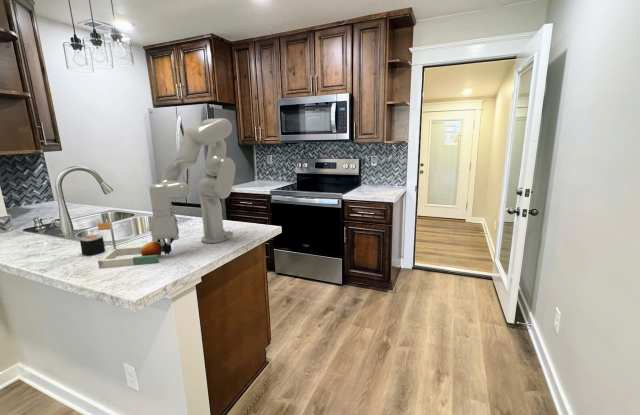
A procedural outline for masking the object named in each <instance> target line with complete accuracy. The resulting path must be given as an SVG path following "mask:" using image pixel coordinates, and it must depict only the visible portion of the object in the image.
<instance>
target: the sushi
mask: <svg viewBox="0 0 640 415" xmlns="http://www.w3.org/2000/svg"><path fill="white" fill-rule="evenodd" d="M79 243H80V248H81V255H83V256H86V257H91V256H97V255H99V254H100V255H101V254H103V253H105V251H106V247H105V246H106V245H105V240H104V236H103V235H102V234H88V235H86V236H83V237H80V240H79Z"/></svg>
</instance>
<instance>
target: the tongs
mask: <svg viewBox="0 0 640 415" xmlns="http://www.w3.org/2000/svg"><path fill="white" fill-rule="evenodd" d="M97 229H98V231H105V230H106V231H107V230H109V231H110V233H111V240H112V245H113V248H112V249H111V250H110V251H109V252H107V253H106V254H105V255H104V256H102V257H101V258H100V259H99V260H98V261H97V263H98V268H99V269H106V268H115V267H116V268H117V267H128V266H129V267H130V266H139V265H147V264H149V265H151V264H158V263H159V256H158V255H150V256H142V254H141V249H142V248H143V246H144V245H139V246H128V247H117V246H116V240H115V234H114V229H113V223H112V222H102V223H101V222H100V223H97ZM161 246H162V245H161ZM162 252H163V246H162ZM162 252H161V253H162ZM127 255H140V256H129V257H118V256H127ZM116 257H117V258H116Z"/></svg>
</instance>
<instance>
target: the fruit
mask: <svg viewBox="0 0 640 415" xmlns="http://www.w3.org/2000/svg"><path fill="white" fill-rule="evenodd" d="M142 246H143V248H142V249H141V254H140V255H141V256H150V255H158V257H159V256H163V255H162V246H161V244H160V243H159V242H154V241H149V242H148V243H146V244H144V245H142Z"/></svg>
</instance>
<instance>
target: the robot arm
mask: <svg viewBox="0 0 640 415" xmlns="http://www.w3.org/2000/svg"><path fill="white" fill-rule="evenodd" d="M232 131H233V125H232V122H231V121H230V120H229V119H227V118H223V117H222V118H219V117H218V118H207V119H204V120H203V121H201V124H200V126H190V127H187V128H186V130H184V134H183V137H182V140H181V142H180V144H179V147H178V152H177V154H176V156H175V157H174V159H172V161H171V162H170V163H169V165H167V167H166V168H165V170H164V171H163V174H162V177H161V180H160V183H153V184H151V185H150V186H149V187H148V189H149V195H150V196H149V197H150V204H151V210H152V216H151V218H150V234H151V242H153V241H154V242H158V243H160V244H161V245H162V246H163V252H164V255H169V254H170V253H171V252H172V243H173V242H174V241H178V240H179V239H180V236H179V232H180V231H179V230H180V229H179V225H178V221H177V217H176V214H175V213H176V212H177V209H176V208H175V209H174V208H173V207H172V200H181V199H186V198H187V197H188V196H189V195H190V194H191V187H190V186H189V184H188V183H186V182H184V181H179V178H180V176H181V175H182V173H183V174H184V172H185V171H186V170H188V169H190V168H192V167H193V166H194V165H196V164H197V162H198V158H199V156H200V153H201V150H202V146H208V148H207V152H206V158H205V162H204V171H205V173H206V174H207V175H209V176H213V177H204V178H202V179H201V180H199V181H198V183H197V186H196V188H197V193H198V196H199V202H200V208H201V216H202V226H203V227H202V229H203V237H201V238H200V242H202V243H203V244H218V243H221V242H224V241H226V240H228V236H229V237H230V236H233V235H234V232H233V231H231V230H228V231H227V230H225V228H224V220H223V211H222V210H223V209H222V202H221V200H224V199H227V198H228V197H229V196H230V195H231V193H232V190H233V185H234V180H235V176H236V163H235V161H234V160H233V159H232V157H229V156H228V157H227V156H226V155H227V144H226V142H225V139H226V138H227V137H229V136H230V135H231V134H232V133H233V132H232ZM214 176H215V177H216V178H215V177H214ZM166 241H167V242H166Z"/></svg>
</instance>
